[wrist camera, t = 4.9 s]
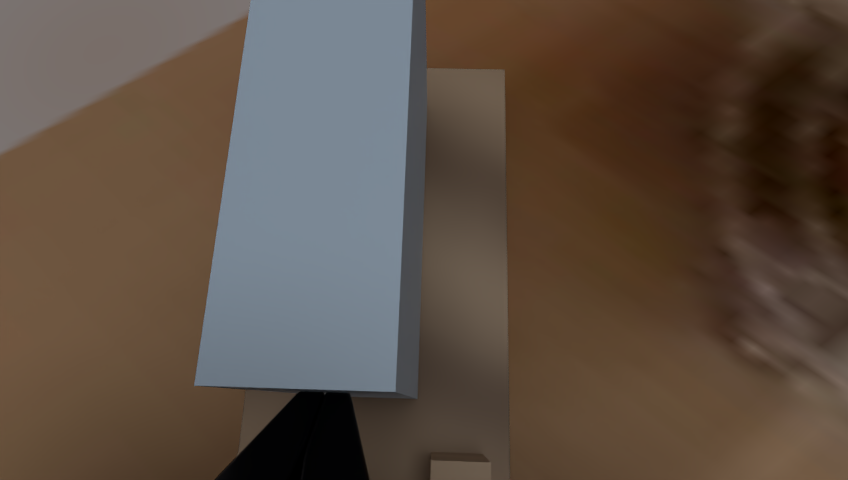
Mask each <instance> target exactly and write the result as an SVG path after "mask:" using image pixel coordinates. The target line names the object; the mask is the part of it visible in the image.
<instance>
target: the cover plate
mask: <svg viewBox="0 0 848 480" xmlns="http://www.w3.org/2000/svg"><path fill="white" fill-rule="evenodd" d="M426 126H427V61H426V7H425V0H251V3H250V10H249V16H248V23H247V30H246V37H245V44H244V50H243V57H242V64H241V71H240V78H239V85H238V91H237V98H236V105H235V112H234V119H233V125H232V132H231V139H230V146H229V153H228V159H227V166H226V173H225V180H224V187H223V193H222V200H221V207H220V214H219V221H218V227H217V234H216V241H215V248H214V255H213V261H212V268H211V275H210V282H209V289H208V295H207V302H206V309H205V316H204V323H203V330H202V336H201V343H200V350H199V357H198V364H197V370H196V377H195V384H194V386H206V387H220V388H233V389H246V390H259V391H272V392H285V393H298V392H300V391H308V392H323V393H324V394H326V393H327V392H339V393H350V395H351V397H374V398H405V399H417V398H418V368H419V337H420V307H421V277H422V247H423V216H424V186H425V156H426Z"/></svg>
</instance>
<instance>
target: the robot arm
mask: <svg viewBox="0 0 848 480" xmlns="http://www.w3.org/2000/svg"><path fill="white" fill-rule="evenodd" d="M215 480H370V478H369V474H368V469H367V465H366V460H365V456H364V451H363V447H362V442H361V438H360V433H359V429H358V424H357V420H356V416H355V411H354V407H353V402H352V398H351V395H350V393H339V392H327V393H326V394H324V393H323V392H308V391H300V392H298V393H297V394H296V395H295V396H294V397H293V398H292V399H291V400H290V401H289V402H288V403H287V404H286V405H285V406H284V407H283V408H282V410H281V411H280V412H279V413H278V414H277V415H276V416H275V417H274V418H273V419H272V420H271V421H270V422H269V423H268V424H267V425H266V426H265V427H264V428H263V429H262V430H261V431H260V433H259V434H258V435H257V436H256V437H255V438H254V439H253V440H252V441H251V442H250V443H249V444H248V445H247V446H246V447H245V448H244V449H243V450H242V451H241V452H240V453H239V455H238V456H237V457H236V458H235V459H234V460H233V461H232V462H231V463H230V464H229V465H228V466H227V467H226V468H225V469H224V470H223V471H222V472H221V473H220V474H219V475H218V477H217V478H216V479H215Z"/></svg>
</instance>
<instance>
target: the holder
mask: <svg viewBox="0 0 848 480" xmlns="http://www.w3.org/2000/svg"><path fill="white" fill-rule="evenodd" d="M296 394H297V393H285V392H272V391H259V390H246V392H245V400H244V408H243V417H242V425H241V433H240V442H239V450H238V453H237V456H238V455H239V453H240V452H241V451H242V450H243V449H244V448H245V447H246V446H247V445H248V444H249V443H250V442H251V441H252V440H253V439H254V438H255V437H256V436H257V435H258V434H259V433H260V431H261V430H262V429H263V428H264V427H265V426H266V425H267V424H268V423H269V422H270V421H271V420H272V419H273V418H274V417H275V416H276V415H277V414H278V413H279V412H280V411H281V410H282V408H283V407H284V406H285V405H286V404H287V403H288V402H289V401H290V400H291V399H292V398H293V397H294V396H295V395H296ZM351 398H352V402H353V407H354V411H355V416H356V420H357V424H358V429H359V433H360V438H361V442H362V447H363V451H364V456H365V460H366V465H367V469H368V474H369V478H370V480H510V443H509V367H508V291H507V215H506V139H505V70H492V69H436V68H427V126H426V156H425V186H424V216H423V247H422V277H421V307H420V337H419V368H418V398H417V399H405V398H374V397H351ZM237 456H236V457H237Z"/></svg>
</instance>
